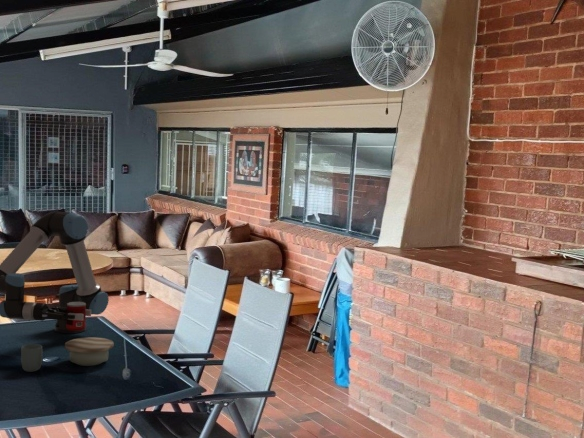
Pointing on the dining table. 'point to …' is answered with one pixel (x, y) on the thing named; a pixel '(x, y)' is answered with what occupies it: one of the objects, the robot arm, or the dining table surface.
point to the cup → (31, 357)
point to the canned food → (79, 309)
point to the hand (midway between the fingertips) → (87, 315)
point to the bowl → (88, 358)
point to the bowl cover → (89, 345)
